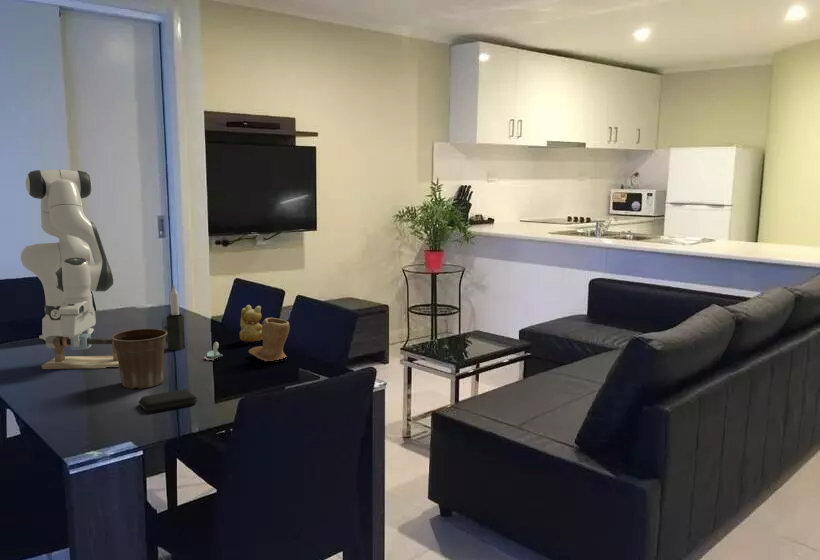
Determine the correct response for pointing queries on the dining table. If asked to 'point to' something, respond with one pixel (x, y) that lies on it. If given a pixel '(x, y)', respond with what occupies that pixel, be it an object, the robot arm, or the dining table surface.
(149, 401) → the carrying case or bag
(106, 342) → the cord stand
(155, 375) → the plant pot
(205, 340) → the dining table surface
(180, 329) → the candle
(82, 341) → the marker sleeve
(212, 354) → the pacifier
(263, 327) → the brown clay boot vase
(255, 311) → the decorative figurine
